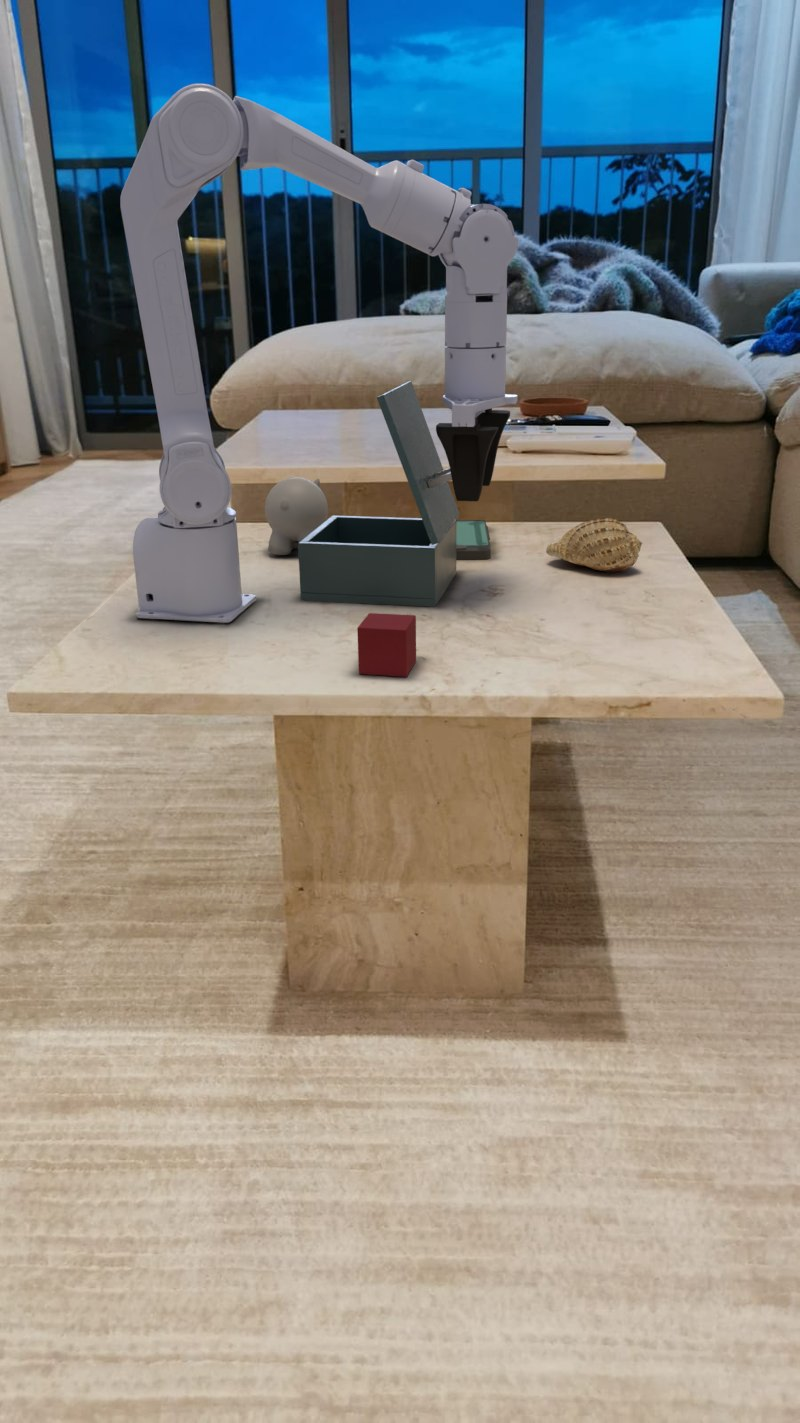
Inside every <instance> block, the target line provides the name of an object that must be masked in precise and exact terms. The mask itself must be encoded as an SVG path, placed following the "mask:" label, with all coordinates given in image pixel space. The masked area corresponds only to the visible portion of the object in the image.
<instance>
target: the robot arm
mask: <svg viewBox="0 0 800 1423" xmlns="http://www.w3.org/2000/svg"><path fill="white" fill-rule="evenodd" d="M237 157H240V165H239V166H240V168H239V169H240V171H249V170H251V171H252V170H258V169H259V170H260V169H267V168H279V169H280V170H283V171H286V172H288V173H290V174H292V175H294V176H296V177H299V178H301V179H304V180H306V181H308V182H309V183H312V184H315V185H316V186H319V187H320V188H323V189H325V190H328V191H330V192H333V193H335V194H337V195H339V196H342V197H344V198H346V199H348V200H351V201H353V202H355V203H357V204H359V205H360V206H361V207H362V210H363V211H364V214H365V217H366V220H367V222H368V225H369V226H370V227H371V228H372V229H375V230H376V231H379V232H381V233H383V234H385V235H387V236H389V237H392V238H394V239H395V240H397V241H399V242H402V243H403V244H405V245H408V246H409V247H410V246H411V248H414V249H416V250H418V251H420V252H422V253H424V254H427V255H428V256H431V257H437V256H438V257H439V259H440V261H441V263H442V264H443V265H444V267H445V294H444V395H442V405H443V406H445V407H447V409H449V410H451V422H439V423H437V424H436V425H435V432H436V435H437V438H438V439H439V442H440V443H441V445H442V448H443V450H444V454H445V455H446V458H447V462H448V467H449V468H450V471H451V476H452V480H451V482H452V486H453V491H454V496H455V498H456V501H457V502H479V501H480V498H481V494H482V490H483V486H484V487H489V486H490V484H491V483H492V478H493V474H494V470H495V464H496V459H497V454H498V450H499V445H500V442H501V438H502V435H503V433H504V430H505V427H506V425H507V423H508V421H509V419H510V417H511V411H510V410H507V409H495V408H499V407H503V406H506V405H516V404H517V403H518V400H519V399H518V397H519V396H518V394H509V393H506V374H507V373H506V370H507V369H506V368H507V327H508V326H507V325H508V324H507V319H508V291H507V290H508V266H509V265H510V264H511V262H512V261H513V259H515V256H516V254H517V251H518V247H519V238H518V236H515V228H514V226H513V223H512V221H511V220H510V219H509V218H508V217H509V216H508V215H507V213H506V212H505V211H504V210H502V209H501V208H500V207H498V206H496V205H494V204H491V203H479V204H473V203H472V201H471V197H472V191H471V190H469V189H467V188H465V187H459V188H458V190H456V189H454V188H453V187H450V186H449V185H446V184H444V183H442V182H441V181H438V180H436V179H435V178H432V177H430V176H428V175H427V174H425V173H423V171H424V169H425V165H424V164H422V163H421V162H419V161H416V160H415V159H410V160H407V162H406V164H405V163H403V162H401V161H400V160H393V161H390V162H388V163H386V164H384V165H382V166H379V167H375V166H373V165H372V164H370V163H368V162H366V161H365V160H363V159H361V158H360V157H357V156H356V155H354V154H352V153H350V152H348V151H347V150H345V149H343V148H342V147H340V146H337V145H336V144H334V143H332V142H331V141H328V140H327V139H325V138H324V137H321V136H320V135H318V134H316V133H314V132H312V131H311V130H309V129H307V128H305V127H304V126H301V125H300V124H298V123H296V122H294V121H292V120H291V119H289V118H287V117H285V116H284V115H282V114H280V113H279V112H278V113H277V112H276V111H274V110H271V109H270V108H267V107H266V106H263V105H261V104H259V103H258V102H257V103H256V101H252V100H250V99H247V98H244V97H240V96H238V95H234V97H233V100H232V98H231V97H230V96H229V95H228V94H227V93H226V92H224V91H223V90H221V89H220V88H218V87H216V86H215V85H211V84H209V83H191V84H188V85H186V86H184V87H182V88H180V89H178V90H177V91H176V92H175V93H174V94H173V95H172V96H171V97H170V98H169V99H168V100H167V101H166V102H165V103H164V105H163V106H161V108H160V109H159V110H158V111H157V112H156V113H155V114H154V115H153V117H152V118H151V120H150V123H149V126H148V127H147V130H146V133H145V136H144V138H143V141H142V143H141V146H140V148H139V151H138V153H137V156H136V157H135V160H134V162H133V165H132V167H131V169H130V172H129V173H128V177H127V179H126V180H125V183H124V186H123V188H122V190H121V194H120V200H119V201H120V202H119V203H120V205H119V206H120V212H121V218H122V224H123V229H124V230H123V231H124V235H125V240H126V245H127V251H128V257H129V263H130V267H131V273H132V280H133V285H134V289H135V290H134V291H135V295H136V296H135V297H136V303H137V307H138V314H139V319H140V323H141V324H140V325H141V329H142V335H143V341H144V346H145V352H146V357H147V362H148V368H149V373H150V379H151V384H152V391H153V396H154V403H155V407H156V412H157V419H158V424H159V432H160V438H161V444H162V450H163V452H162V456H161V459H160V463H159V468H158V477H159V496H160V499H161V502H162V505H163V506H164V507H163V508H162V510H160V511H158V512H157V517H147V518H143V519H142V520H140V522H139V523H138V525H137V526H136V528H135V531H134V535H133V540H132V542H133V543H132V558H133V559H132V560H133V565H134V576H135V584H136V591H137V602H138V603H137V604H138V611H137V612H136V613H135V617H136V618H137V619H152V620H171V621H173V620H174V621H187V622H203V623H205V622H206V623H207V622H208V623H226V624H227V623H231V622H232V621H233V620H234V619H236V618H237V617H238V616H239V615H240V614H242V613H243V612H244V611H245V610H246V609H247V608H249V607H250V606H251V605H252V604H253V603H254V602H255V601H257V599H258V598H257V597H258V596H257V595H256V594H248V593H242V580H241V579H242V578H241V567H240V566H241V565H240V552H239V539H238V525H237V524H238V523H237V514H236V513H237V511H235V509H233V508H231V507H229V504H230V501H231V498H232V482H231V479H230V476H229V473H228V472H227V470H226V466H225V462H224V460H223V458H222V456H221V455H220V453H219V451H218V450H217V449H216V448H215V446H214V438H213V433H212V428H211V423H210V418H209V412H208V405H207V400H206V393H205V386H204V381H203V374H202V369H201V363H200V355H199V350H198V343H197V337H196V332H195V325H194V319H193V313H192V307H191V301H190V295H189V288H188V282H187V276H186V269H185V262H184V256H183V252H182V251H183V250H182V245H181V244H182V243H181V237H180V231H179V226H178V221H179V219H180V217H181V216H182V215H183V214H184V212H185V211H186V209H187V208H188V207H189V205H190V204H191V202H192V201H193V200H194V198H195V197H196V196H197V194H198V193H199V191H200V190H201V189H203V188H205V187H206V186H208V185H209V184H210V183H212V182H213V181H215V180H216V179H218V178H219V177H221V176H222V175H223V174H224V173H225V172H226V171H227V170H228V169H229V168H230V167H231V165H232V163H233V162H234V161H235V160H236V159H237Z"/></svg>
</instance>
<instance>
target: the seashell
mask: <svg viewBox="0 0 800 1423" xmlns="http://www.w3.org/2000/svg"><path fill="white" fill-rule="evenodd" d="M642 545H643V542H642V541H641V540H640V539H639V538H638V536H637V535H636V534H634V533H633V532H631V531H629V527H627V524H624V523H623V522H622V521H620V520H618V519H616V518H610V517H606V518H605V517H601V518H594V519H591V520H587V521H585V522H584V521H583V522H582V523H580V524H577V525H576V526H574V527H573V528H571V529H570V530H568V531H567V532H566V533H565V534H564V535H563V536H562V537H561V539H560V540H558V541H557V542H555V543H549V544H547V546H546V549H545V550H546V551H545V553H546V554H547V555H548V556H550V557H554V558H555V557H556V558H560V559H562V560H563V561H567V562H569V563H572V564H575V565H578V566H582V567H587V568H589V569H592V570H596V571H600V572H604V573H614V572H615V573H616V572H620V571H623V570H624V571H625V570H626V569H629V568H631V567H632V566H633V565H634V564H636V562H637V561H638V560H639V556H640V555H639V553H640V552H641V547H642Z"/></svg>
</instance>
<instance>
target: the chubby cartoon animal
mask: <svg viewBox="0 0 800 1423" xmlns="http://www.w3.org/2000/svg"><path fill="white" fill-rule="evenodd" d="M320 486H321V481H320V479H319V478H316V479H315V480H314V481H312V480H309V479H308V478H304V477H298V476H294V477H293V476H292V477H288V478H285V479H282V480H280V481H278V482H277V483H276V484H275V485H274V486H273V487H272V488H271V489H270V491H269V492H268V494H267V497H266V499H265V503H264V514H265V519H266V521H267V523H268V524H267V525H269V527H270V528H271V534H270V537H269V541H268V551H269V553H270V554H271V555H275V556H287V555H290V554H291V552H292V550H295V549H297V550H298V543H299V542H300V541H302V540H303V539H304V538H305V537H307V536H308V535H309V534H310V533H311V532H313V531H314V530H315V529H316V528H318V527H319V526H320V525H321V524H323V523H324V522H325V521H326V520H328V515H329V505H328V501H327V498H326V495H325V493H324V492H323V490H322V488H320Z"/></svg>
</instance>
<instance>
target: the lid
mask: <svg viewBox="0 0 800 1423" xmlns="http://www.w3.org/2000/svg"><path fill="white" fill-rule="evenodd" d="M376 399H377V402H378V405H379V409H380V410H381V413H382V417H383V419H384V421H385V423H386V424H385V425H386V427H387V429H388V432H389V434H390V437H391V440H392V442H393V446H394V448H395V450H396V453H397V456H398V458H399V461H400V464H401V467H402V469H403V472H404V475H405V478H406V480H407V483H408V485H409V488H410V491H411V494H412V496H413V499H414V501H415V504H416V507H417V510H418V513H419V515H420V517H421V518H422V520H423V523H424V526H425V528H426V531H427V534H428V536H429V539H430V542H431V544H432V545H434V544H437V543H439V541H440V540H441V539H442V537H443V536H444V535H445V533H446V532H447V531H448V529H449V528H450V527H451V525H452V524H453V523H454V521H455V520H458V518H459V516H460V511H459V508H458V506H457V503H456V500H455V497H454V495H453V492H452V489H451V487H450V484H449V482H452V476H451V471H450V467H448V468H445V469H444V467H443V465H442V461H441V458H440V456H439V453H438V451H437V448H436V446H435V443H434V440H433V437H432V434H431V430H430V428H429V426H428V423H427V420H426V416H425V415H424V411H423V410H422V406H421V404H420V400H419V398H418V395H417V393H416V389H415V387H414V385H413V382H412V380H409V381H407V382H405V383H403V384H400V385H398V386H397V387H394V388H393V389H391V390H389V391H387V392H385V393H383V394H380V395H379V396H377V397H376Z"/></svg>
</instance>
